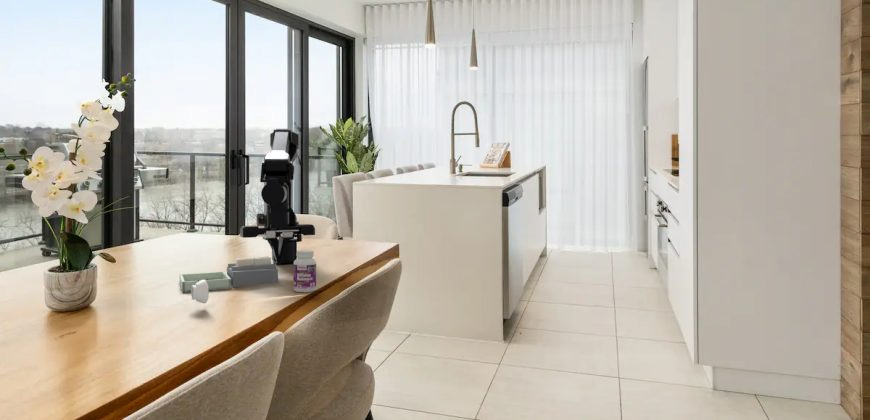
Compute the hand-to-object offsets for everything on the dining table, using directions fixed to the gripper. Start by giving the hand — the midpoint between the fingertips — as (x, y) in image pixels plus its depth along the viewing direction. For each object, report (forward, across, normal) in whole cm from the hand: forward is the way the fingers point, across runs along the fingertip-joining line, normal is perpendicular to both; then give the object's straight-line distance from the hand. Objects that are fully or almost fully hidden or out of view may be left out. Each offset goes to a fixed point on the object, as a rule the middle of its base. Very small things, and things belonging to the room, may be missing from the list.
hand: (278, 262), depth 150 cm
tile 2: (+1, +4, 0) cm, 4 cm away
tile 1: (+1, +9, 0) cm, 9 cm away
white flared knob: (+5, +21, +22) cm, 31 cm away
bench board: (+5, +7, 0) cm, 8 cm away
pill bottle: (+5, -3, +18) cm, 19 cm away
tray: (+5, +18, 0) cm, 19 cm away
